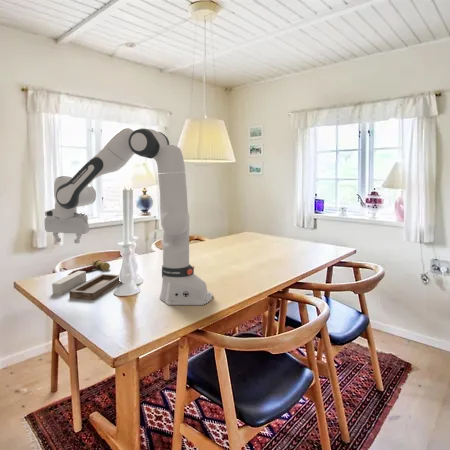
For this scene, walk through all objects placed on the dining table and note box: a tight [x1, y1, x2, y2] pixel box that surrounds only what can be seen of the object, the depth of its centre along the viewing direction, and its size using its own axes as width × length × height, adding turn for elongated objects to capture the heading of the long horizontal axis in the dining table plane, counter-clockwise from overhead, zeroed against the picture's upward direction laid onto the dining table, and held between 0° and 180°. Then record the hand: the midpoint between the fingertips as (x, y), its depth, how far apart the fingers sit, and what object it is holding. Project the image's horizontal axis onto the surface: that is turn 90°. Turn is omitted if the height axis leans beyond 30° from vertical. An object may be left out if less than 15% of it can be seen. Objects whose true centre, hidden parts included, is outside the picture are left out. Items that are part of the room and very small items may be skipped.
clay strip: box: [51, 271, 87, 295], centre depth 165 cm, size 4×20×5 cm, turn 170°
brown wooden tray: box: [68, 273, 120, 301], centre depth 162 cm, size 11×26×3 cm, turn 169°
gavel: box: [67, 259, 111, 276], centre depth 189 cm, size 21×5×10 cm
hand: (67, 242), depth 162 cm, fingers open, 8 cm apart
